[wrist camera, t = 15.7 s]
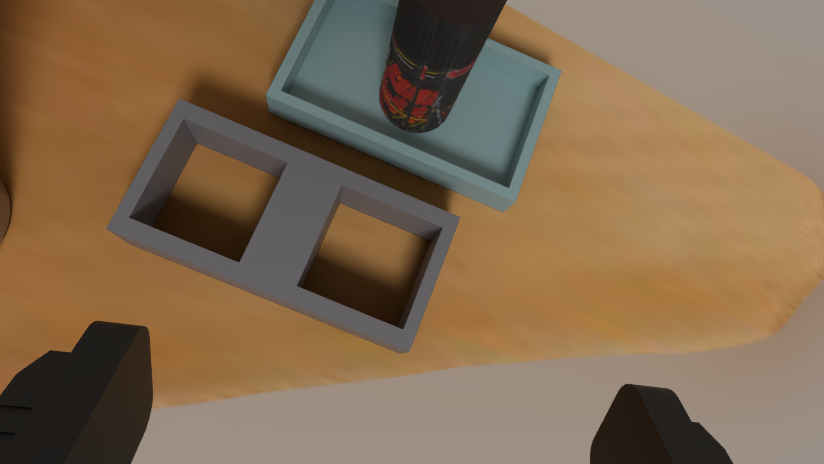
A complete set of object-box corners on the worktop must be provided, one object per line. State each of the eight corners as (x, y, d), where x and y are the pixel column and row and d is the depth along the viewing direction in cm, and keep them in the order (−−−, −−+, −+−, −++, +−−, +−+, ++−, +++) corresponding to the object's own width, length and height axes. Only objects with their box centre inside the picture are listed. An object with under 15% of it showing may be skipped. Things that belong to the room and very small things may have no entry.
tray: (547, 88, 49) (561, 70, 46) (503, 212, 46) (515, 201, 43) (330, -8, 48) (330, -32, 45) (269, 112, 45) (265, 95, 42)
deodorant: (374, 67, 47) (398, -68, 32) (445, 63, 48) (499, -70, 33) (384, 136, 45) (414, 27, 31) (457, 130, 46) (518, 22, 32)
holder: (446, 231, 45) (460, 217, 41) (400, 353, 42) (409, 352, 38) (193, 125, 44) (179, 98, 39) (128, 243, 41) (106, 228, 37)
